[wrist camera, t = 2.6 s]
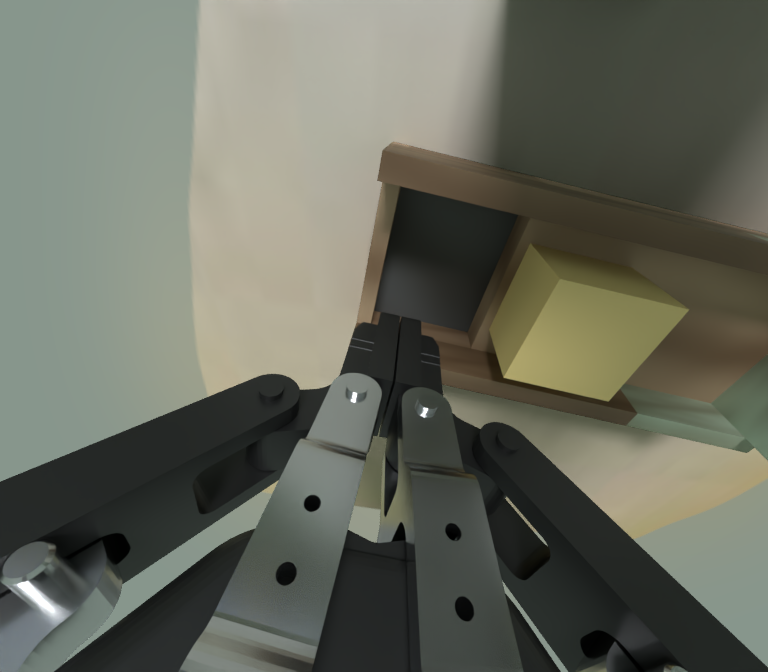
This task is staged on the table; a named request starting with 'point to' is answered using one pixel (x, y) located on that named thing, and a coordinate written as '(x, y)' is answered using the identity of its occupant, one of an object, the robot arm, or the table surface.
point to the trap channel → (587, 238)
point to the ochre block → (579, 323)
